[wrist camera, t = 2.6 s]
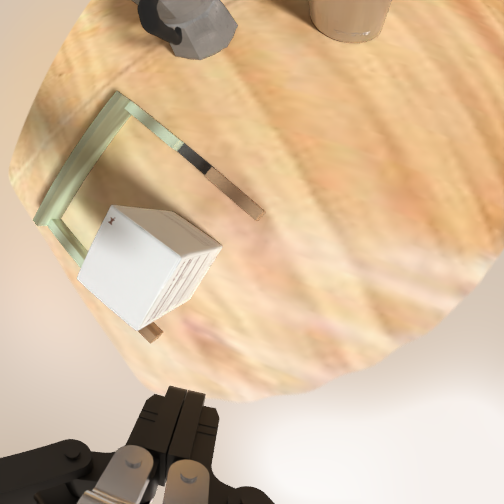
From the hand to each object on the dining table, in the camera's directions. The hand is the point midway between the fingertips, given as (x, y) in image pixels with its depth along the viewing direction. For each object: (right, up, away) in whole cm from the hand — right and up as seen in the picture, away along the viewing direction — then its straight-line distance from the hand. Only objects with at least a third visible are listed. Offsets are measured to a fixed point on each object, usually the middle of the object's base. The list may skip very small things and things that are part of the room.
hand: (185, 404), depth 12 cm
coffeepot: (-4, +33, +22) cm, 39 cm away
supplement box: (-5, +6, +24) cm, 25 cm away
